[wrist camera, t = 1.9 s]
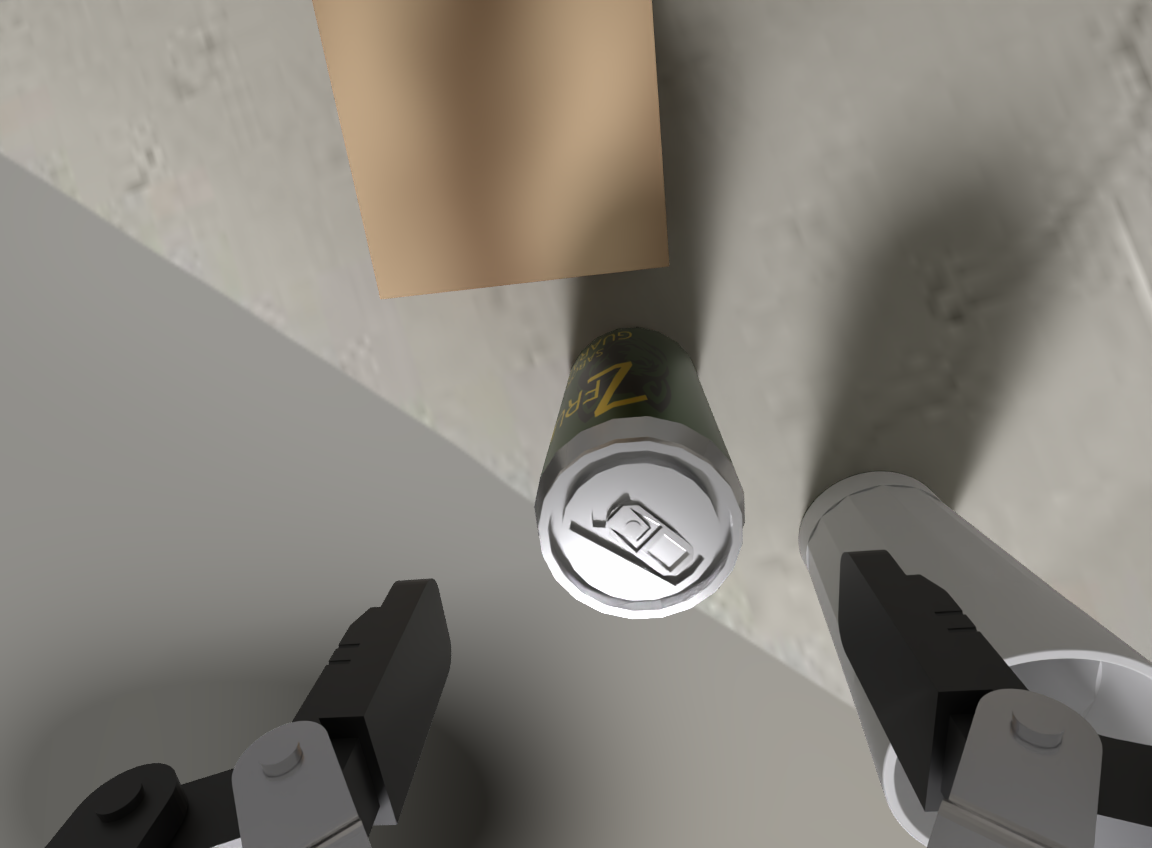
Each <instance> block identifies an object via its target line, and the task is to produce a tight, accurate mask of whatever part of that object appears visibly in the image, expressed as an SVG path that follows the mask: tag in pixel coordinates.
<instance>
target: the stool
mask: <svg viewBox="0 0 1152 848" xmlns="http://www.w3.org/2000/svg"><path fill="white" fill-rule="evenodd" d="M312 2H313V6H314V11H315V15H316V19H317V24H318V28H319V32H320V37H321V41H322V46H323V50H324V54H325V59H326V63H327V67H328V72H329V76H330V80H331V85H332V89H333V94H334V98H335V102H336V107H337V111H338V115H339V120H340V124H341V129H342V133H343V137H344V142H345V146H346V150H347V155H348V159H349V163H350V168H351V172H352V177H353V181H354V185H355V190H356V194H357V198H358V203H359V207H360V212H361V216H362V220H363V225H364V229H365V233H366V238H367V242H368V247H369V251H370V255H371V260H372V264H373V268H374V273H375V277H376V281H377V286H378V290H379V295H380V299H388V298H397V297H405V296H414V295H423V294H432V293H440V292H449V291H458V290H467V289H475V288H484V287H493V286H502V285H510V284H519V283H528V282H537V281H545V280H554V279H563V278H572V277H580V276H589V275H598V274H607V273H615V272H624V271H633V270H642V269H650V268H659V267H668V266H669V252H668V237H667V222H666V207H665V192H664V177H663V162H662V147H661V131H660V116H659V101H658V86H657V71H656V56H655V41H654V26H653V11H652V0H312Z"/></svg>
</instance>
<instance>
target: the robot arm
mask: <svg viewBox="0 0 1152 848" xmlns="http://www.w3.org/2000/svg"><path fill="white" fill-rule="evenodd" d="M838 626H839V633H840V638H841V642H842V645H843V648H844V651H845V653H846V655H847V657H848V659H849V661H850V663H851V665H852V667H853V669H854V671H855V673H856V675H857V677H858V679H859V681H860V683H861V685H862V687H863V689H864V691H865V693H866V695H867V697H868V699H869V701H870V703H871V705H872V707H873V709H874V711H875V713H876V715H877V717H878V719H879V721H880V723H881V725H882V727H883V729H884V731H885V733H886V735H887V737H888V739H889V741H890V743H891V745H892V747H893V749H894V751H895V753H896V755H897V757H898V759H899V761H900V763H901V765H902V767H903V769H904V771H905V773H906V775H907V777H908V779H909V781H910V783H911V785H912V787H913V789H914V791H915V793H916V795H917V797H918V799H919V801H920V803H921V805H922V807H923V809H924V811H925V812H936V811H938V814H937V817H936V820H935V823H934V826H933V829H932V833H931V836H930V839H929V842H928V845H927V848H1152V746H1151V745H1145V744H1140V743H1135V742H1130V741H1125V740H1120V739H1115V738H1111V737H1106V736H1102V735H1099V734H1097V732H1096V731H1095V729H1094V728H1093V727H1092V726H1091V724H1090V723H1089V722H1088V721H1087V720H1086V719H1084V718H1083V717H1082V716H1081V715H1080V714H1078V713H1077V712H1076V711H1074V710H1073V709H1071V708H1070V707H1068V706H1067V705H1065V704H1063V703H1061V702H1059V701H1057V700H1055V699H1053V698H1050V697H1048V696H1045V695H1042V694H1039V693H1036V692H1032V691H1029V690H1028V689H1027V687H1026V686H1025V685H1024V684H1023V683H1022V681H1021V680H1020V679H1019V678H1018V677H1017V675H1016V674H1015V673H1014V672H1013V671H1012V669H1011V668H1010V667H1009V666H1008V665H1007V663H1006V662H1005V661H1004V660H1003V659H1002V657H1001V656H1000V655H999V654H998V653H997V651H996V650H995V649H994V648H993V647H992V645H991V644H990V643H989V642H988V641H987V639H986V638H985V637H984V636H983V634H982V633H981V632H980V631H977V629H976V626H975V625H974V624H973V622H972V621H971V620H970V619H969V618H968V616H967V615H966V614H963V611H962V609H961V608H960V607H959V606H958V604H957V603H956V602H955V601H954V600H953V598H952V597H951V596H950V595H949V594H948V592H947V591H946V590H944V589H943V588H941V587H940V586H938V585H936V584H935V583H933V582H932V581H930V580H928V579H927V578H925V577H924V576H922V575H921V574H916V575H906V574H905V573H904V572H903V570H902V569H901V568H900V566H899V565H898V564H897V562H896V561H895V560H894V558H893V557H892V556H891V554H890V553H889V552H888V551H887V550H884V549H883V550H868V551H853V552H844V553H843V554H842V556H841V560H840V581H839V607H838ZM450 664H451V642H450V637H449V632H448V628H447V624H446V619H445V615H444V610H443V606H442V602H441V598H440V593H439V589H438V585H437V583H436V581H435V580H434V579H418V580H404V581H396V582H395V583H394V584H393V586H392V588H391V589H390V591H389V593H388V595H387V597H386V598H385V600H384V602H383V604H382V605H381V607H372V608H370V609H368V610H367V611H366V612H365V613H364V614H363V615H361V616H360V617H359V618H358V619H357V620H356V621H355V622H353V623H352V624H351V625H350V627H349V628H348V630H347V632H346V633H345V635H344V637H343V638H342V640H341V642H340V643H339V648H338V649H336V650H335V652H334V653H333V655H332V656H331V658H330V660H329V665H326V666H325V668H324V670H323V671H322V673H321V675H320V677H319V678H318V680H317V681H316V683H315V685H314V686H313V688H312V690H311V691H310V693H309V695H308V696H307V698H306V700H305V701H304V703H303V705H302V706H301V708H300V709H299V711H298V713H297V714H296V716H295V718H294V719H293V721H292V723H288V724H285V725H282V726H280V727H277V728H275V729H273V730H271V731H269V732H268V733H266V734H264V735H263V736H261V737H260V738H258V739H257V740H256V741H255V742H254V743H252V745H250V746H249V747H248V748H247V749H246V751H245V752H244V753H243V754H242V755H241V757H240V758H239V760H238V761H237V763H236V765H235V767H234V769H231V770H228V771H224V772H221V773H218V774H215V775H212V776H209V777H205V778H202V779H198V780H195V781H192V782H189V783H186V784H183V785H181V784H180V782H179V779H178V777H177V775H176V773H175V771H174V769H173V768H171V767H170V766H168V765H166V764H161V763H152V764H146V765H142V766H138V767H135V768H133V769H130V770H127V771H125V772H123V773H121V774H119V775H117V776H116V777H114V778H112V779H111V780H109V781H108V782H106V783H104V784H103V785H101V786H100V787H99V788H97V789H96V790H95V791H94V792H92V793H91V794H90V795H89V796H88V797H87V798H86V799H85V800H84V801H83V802H82V803H81V804H80V805H79V806H78V807H77V809H76V810H75V811H74V812H73V814H72V815H71V816H70V817H69V819H68V820H67V821H66V822H65V824H64V825H63V826H62V827H61V828H60V830H59V831H58V832H57V833H56V835H55V836H54V837H53V838H52V840H51V841H50V842H49V843H48V845H47V846H46V847H45V848H371V845H370V842H369V840H368V837H369V834H370V832H371V829H372V826H373V825H397V823H398V820H399V817H400V814H401V811H402V808H403V805H404V802H405V799H406V796H407V793H408V791H409V787H410V785H411V782H412V779H413V776H414V773H415V770H416V767H417V764H418V761H419V758H420V755H421V753H422V750H423V747H424V744H425V740H426V737H427V735H428V732H429V729H430V726H431V723H432V720H433V717H434V714H435V711H436V709H437V706H438V703H439V699H440V697H441V694H442V691H443V688H444V685H445V682H446V679H447V676H448V673H449V669H450Z"/></svg>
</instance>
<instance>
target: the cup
mask: <svg viewBox="0 0 1152 848" xmlns="http://www.w3.org/2000/svg"><path fill="white" fill-rule="evenodd" d="M883 549H884V550H887V551H888V552H889V553H890V554H891V556H892V557H893V558H894V560H895V561H896V562H897V564H898V565H899V566H900V568H901V569H902V570H903V572H904V573H905V574H906V575H916V574H921V575H922V576H924V577H925V578H927V579H928V580H930V581H932V582H933V583H935V584H936V585H938V586H940V587H941V588H943V589H944V590H946V591H947V592H948V594H949V595H950V596H951V597H952V598H953V600H954V601H955V602H956V603H957V604H958V606H959V607H960V608H961V609H962V611H963V614H966V615H967V616H968V618H969V619H970V620H971V621H972V622H973V624H974V625H975V626H976V629H977V631H980V632H981V633H982V634H983V636H984V637H985V638H986V639H987V641H988V642H989V643H990V644H991V645H992V647H993V648H994V649H995V650H996V651H997V653H998V654H999V655H1000V656H1001V657H1002V659H1003V660H1004V661H1005V662H1006V663H1007V665H1008V666H1009V667H1010V668H1011V669H1012V671H1013V672H1014V673H1015V674H1016V675H1017V677H1018V678H1019V679H1020V680H1021V681H1022V683H1023V684H1024V685H1025V686H1026V687H1027V689H1028V690H1029V691H1032V692H1036V693H1039V694H1042V695H1045V696H1048V697H1050V698H1053V699H1055V700H1057V701H1059V702H1061V703H1063V704H1065V705H1067V706H1068V707H1070V708H1071V709H1073V710H1074V711H1076V712H1077V713H1078V714H1080V715H1081V716H1082V717H1083V718H1084V719H1086V720H1087V721H1088V722H1089V723H1090V724H1091V726H1092V727H1093V728H1094V729H1095V731H1096V732H1097V734H1099V735H1102V736H1106V737H1111V738H1115V739H1120V740H1125V741H1130V742H1135V743H1140V744H1145V745H1151V746H1152V663H1151V662H1150V661H1149V660H1147V659H1146V658H1145V657H1143V656H1142V655H1141V654H1139V653H1138V652H1137V651H1135V650H1134V649H1133V648H1132V647H1130V646H1129V645H1128V644H1126V643H1125V642H1124V641H1122V640H1121V639H1120V638H1118V637H1117V636H1116V635H1114V634H1113V633H1112V632H1110V631H1109V630H1108V629H1106V628H1105V627H1104V626H1102V625H1101V624H1100V623H1098V622H1097V621H1096V620H1094V619H1093V618H1092V617H1090V616H1089V615H1088V614H1086V613H1085V612H1084V611H1082V610H1081V609H1080V608H1079V607H1077V606H1076V605H1075V604H1073V603H1072V602H1070V601H1069V600H1067V599H1066V598H1065V597H1063V596H1062V595H1061V594H1060V593H1058V592H1057V591H1056V590H1054V589H1053V588H1052V587H1051V586H1049V585H1048V584H1047V583H1045V582H1044V581H1043V580H1042V579H1040V578H1039V577H1038V576H1036V575H1035V574H1034V573H1033V572H1031V571H1030V570H1029V569H1028V568H1026V567H1025V566H1024V565H1022V564H1021V563H1020V562H1019V561H1017V560H1016V559H1015V558H1013V557H1012V556H1011V555H1010V554H1008V553H1007V552H1006V551H1004V550H1003V549H1002V548H1001V547H999V546H998V545H997V544H995V543H994V542H993V541H992V540H990V539H989V538H988V537H987V536H985V535H984V534H983V533H981V532H980V531H979V530H978V529H976V528H975V527H974V526H972V525H971V524H970V523H969V522H967V521H966V520H965V519H963V518H962V517H961V516H960V515H958V514H957V513H956V512H954V511H953V510H952V509H951V508H949V507H948V506H947V505H946V504H944V503H943V502H942V501H941V500H940V499H939V498H938V497H937V496H936V495H935V494H934V493H933V492H932V491H931V490H930V489H929V488H928V487H927V486H925V485H924V484H923V483H921V482H919V481H918V480H916V479H914V478H912V477H909V476H906V475H903V474H900V473H894V472H885V471H877V472H867V473H862V474H858V475H854V476H851V477H848V478H846V479H844V480H841V481H839V482H837V483H836V484H834V485H832V486H831V487H829V488H828V489H827V490H825V491H824V492H823V493H822V494H821V495H819V496H818V497H817V499H816V500H815V501H814V502H813V503H812V504H811V506H810V507H809V509H808V510H807V512H806V514H805V516H804V518H803V520H802V523H801V526H800V531H799V550H800V554H801V557H802V559H803V562H804V564H805V566H806V568H807V570H808V572H809V574H810V576H811V579H812V582H813V585H814V588H815V591H816V594H817V597H818V600H819V603H820V605H821V608H822V611H823V614H824V617H825V620H826V623H827V626H828V629H829V631H830V634H831V637H832V640H833V643H834V646H835V649H836V652H837V655H838V657H839V660H840V663H841V666H842V669H843V672H844V675H845V678H846V681H847V683H848V686H849V689H850V692H851V695H852V698H853V701H854V704H855V707H856V709H857V712H858V715H859V719H860V721H861V725H862V728H863V731H864V734H865V737H866V740H867V743H868V745H869V749H870V752H871V755H872V758H873V761H874V764H875V767H876V770H877V773H878V776H879V779H880V783H881V786H882V789H883V792H884V795H885V798H886V801H887V803H888V806H889V808H890V810H891V811H892V813H893V815H894V816H895V818H896V819H897V821H898V822H899V823H900V825H901V826H902V827H903V828H904V829H905V830H906V831H907V832H908V833H909V834H910V835H911V836H912V837H914V838H915V839H916V840H917V841H919V842H920V843H922V844H923V845H925V846H926V847H927V845H928V842H929V839H930V836H931V833H932V829H933V826H934V823H935V820H936V817H937V814H938V811H936V812H925V811H924V809H923V807H922V805H921V803H920V801H919V799H918V797H917V795H916V793H915V791H914V789H913V787H912V785H911V783H910V781H909V779H908V777H907V775H906V773H905V771H904V769H903V767H902V765H901V763H900V761H899V759H898V757H897V755H896V753H895V751H894V749H893V747H892V745H891V743H890V741H889V739H888V737H887V735H886V733H885V731H884V729H883V727H882V725H881V723H880V721H879V719H878V717H877V715H876V713H875V711H874V709H873V707H872V705H871V703H870V701H869V699H868V697H867V695H866V693H865V691H864V689H863V687H862V685H861V683H860V681H859V679H858V677H857V675H856V673H855V671H854V669H853V667H852V665H851V663H850V661H849V659H848V657H847V655H846V653H845V651H844V648H843V645H842V642H841V638H840V633H839V626H838V607H839V581H840V560H841V556H842V554H843V553H844V552H853V551H868V550H883Z"/></svg>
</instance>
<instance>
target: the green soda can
mask: <svg viewBox="0 0 1152 848" xmlns="http://www.w3.org/2000/svg"><path fill="white" fill-rule="evenodd" d="M534 508H535V514H536V521H537V528H538V535H539V537H540V543H541V549H542V555H543V557H544V559H545V560H546V562H547V564H548V566H549V568H550V570H551V572H552V574H553V575H554V577H555V579H556V580H557V581H558V582H559V583H560V584H561V585H562V586H563V587H564V588H565V589H566V590H567V591H569V593H570V594H572V595H573V596H574V597H575V598H576V599H577V600H579V601H581V602H583V603H585V604H587V605H589V606H591V607H593V608H595V609H597V610H599V611H600V612H602V613H608V614H612V615H616V616H621V617H626V618H630V619H638V618H659V617H665V616H668V615H671V614H674V613H677V612H681V611H684V610H687V609H690V608H692V607H693V606H695V605H696V604H698V603H699V602H701V601H702V600H704V599H705V598H707V597H708V596H710V595H711V594H713V593H714V592H716V590H717V589H718V588H719V587H720V585H721V584H722V583H723V582H724V580H725V579H726V578H727V577H728V575H729V574H730V573H731V572H732V571H733V569H734V566H735V563H736V560H737V558H738V555H739V552H740V549H741V546H742V544H743V535H742V529H743V526H744V523H745V513H744V491H743V489H742V486H741V484H740V481H739V479H738V476H737V474H736V471H735V469H734V466H733V464H732V461H731V459H730V456H729V454H728V451H727V449H726V446H725V444H724V441H723V439H722V436H721V434H720V431H719V429H718V426H717V424H716V421H715V419H714V416H713V413H712V411H711V408H710V406H709V403H708V401H707V398H706V396H705V393H704V391H703V388H702V386H701V383H700V381H699V378H698V376H697V373H696V371H695V368H694V366H693V363H692V361H691V358H690V357H689V356H688V355H687V353H686V352H685V351H684V350H683V349H682V348H681V347H680V345H679V344H678V343H677V342H675V341H674V340H672V339H670V338H669V337H667V336H665V335H663V334H662V333H660V332H657V331H653V330H648V329H644V328H639V327H636V328H625V329H616V330H614V331H612V332H609V333H607V334H605V335H602V336H600V337H598V338H596V339H595V340H594V341H593V342H592V343H591V344H589V345H588V346H587V347H586V348H585V349H584V350H583V351H582V352H581V353H580V355H579V357H578V359H577V360H576V362H575V364H574V365H573V367H572V369H571V372H570V376H569V379H568V383H567V386H566V390H565V393H564V397H563V400H562V404H561V407H560V411H559V414H558V418H557V421H556V425H555V428H554V432H553V435H552V439H551V442H550V445H549V449H548V452H547V456H546V459H545V463H544V466H543V470H542V473H541V477H540V481H539V486H538V491H537V496H536V501H535V506H534Z"/></svg>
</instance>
